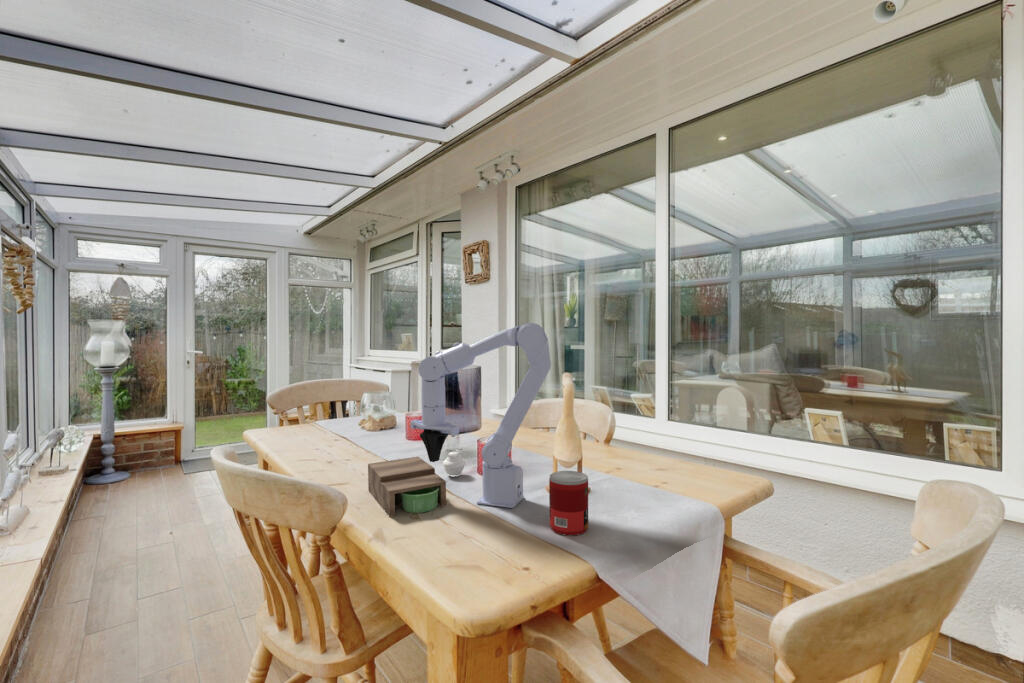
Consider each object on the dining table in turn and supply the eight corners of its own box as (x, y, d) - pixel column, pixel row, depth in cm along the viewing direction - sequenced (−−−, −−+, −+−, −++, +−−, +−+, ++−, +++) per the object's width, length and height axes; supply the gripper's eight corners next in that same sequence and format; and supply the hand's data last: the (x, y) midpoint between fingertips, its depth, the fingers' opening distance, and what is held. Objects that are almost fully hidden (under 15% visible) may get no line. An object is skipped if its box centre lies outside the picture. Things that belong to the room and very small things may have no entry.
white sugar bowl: (467, 472, 138) (466, 448, 138) (462, 479, 132) (462, 454, 132) (446, 472, 139) (446, 448, 139) (440, 478, 133) (440, 453, 132)
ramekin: (447, 505, 113) (446, 486, 113) (419, 517, 106) (419, 498, 105) (420, 497, 118) (420, 479, 118) (391, 509, 111) (391, 490, 110)
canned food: (593, 534, 96) (593, 480, 96) (554, 537, 95) (554, 483, 95) (581, 519, 104) (581, 469, 103) (545, 522, 102) (545, 471, 102)
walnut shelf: (446, 505, 113) (445, 476, 112) (389, 517, 106) (389, 485, 106) (418, 482, 130) (418, 456, 130) (368, 490, 123) (368, 463, 123)
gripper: (467, 405, 115) (467, 461, 116) (424, 400, 124) (425, 452, 124) (446, 410, 110) (447, 468, 110) (403, 404, 118) (404, 459, 118)
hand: (434, 460), depth 117 cm, fingers closed
